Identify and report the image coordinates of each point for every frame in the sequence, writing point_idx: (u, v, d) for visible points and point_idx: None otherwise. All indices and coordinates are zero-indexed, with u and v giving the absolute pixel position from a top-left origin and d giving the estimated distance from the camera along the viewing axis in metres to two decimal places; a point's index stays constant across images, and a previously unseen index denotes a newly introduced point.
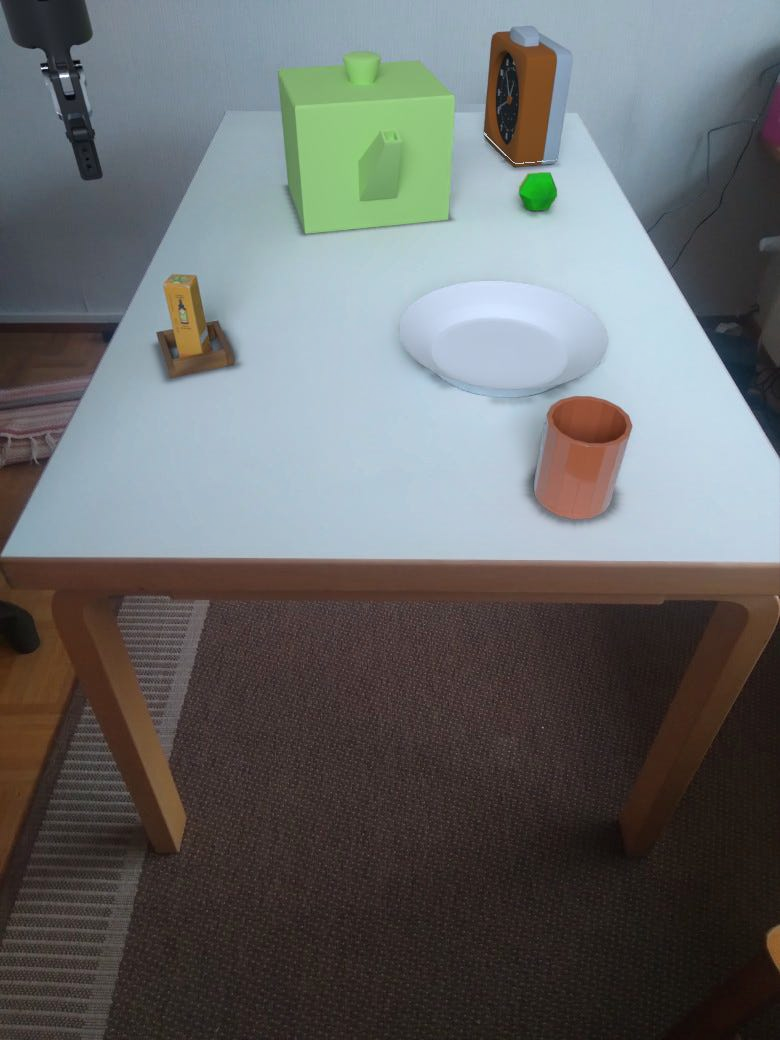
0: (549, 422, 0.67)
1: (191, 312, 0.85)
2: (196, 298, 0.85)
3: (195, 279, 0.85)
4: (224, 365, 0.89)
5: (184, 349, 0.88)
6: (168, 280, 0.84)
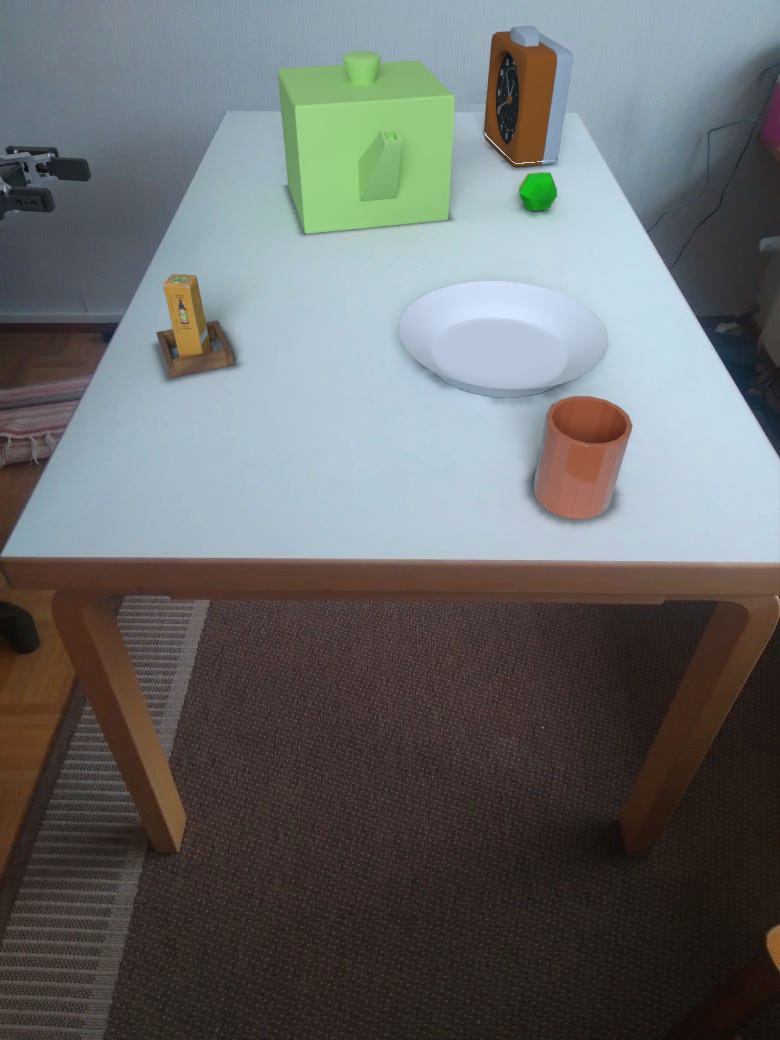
0: (549, 422, 0.67)
1: (191, 312, 0.85)
2: (196, 298, 0.85)
3: (195, 279, 0.85)
4: (224, 365, 0.89)
5: (184, 349, 0.88)
6: (168, 280, 0.84)
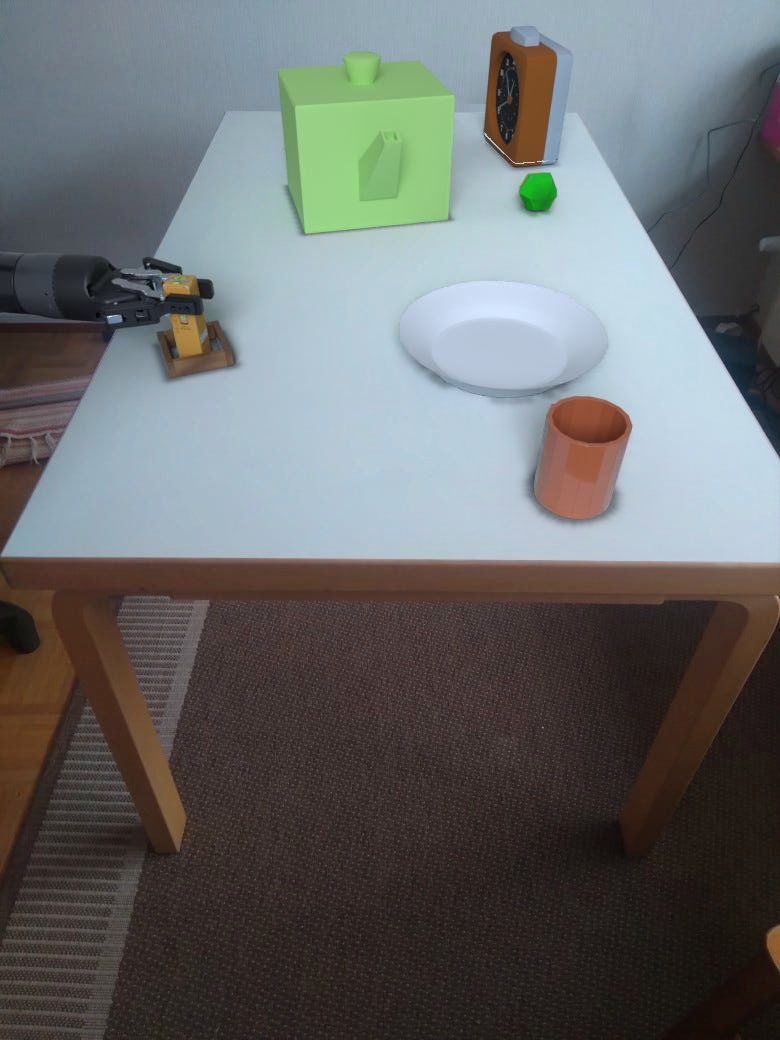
0: (549, 422, 0.67)
1: None
2: None
3: (194, 279, 0.84)
4: (224, 365, 0.89)
5: (184, 349, 0.88)
6: (167, 281, 0.84)
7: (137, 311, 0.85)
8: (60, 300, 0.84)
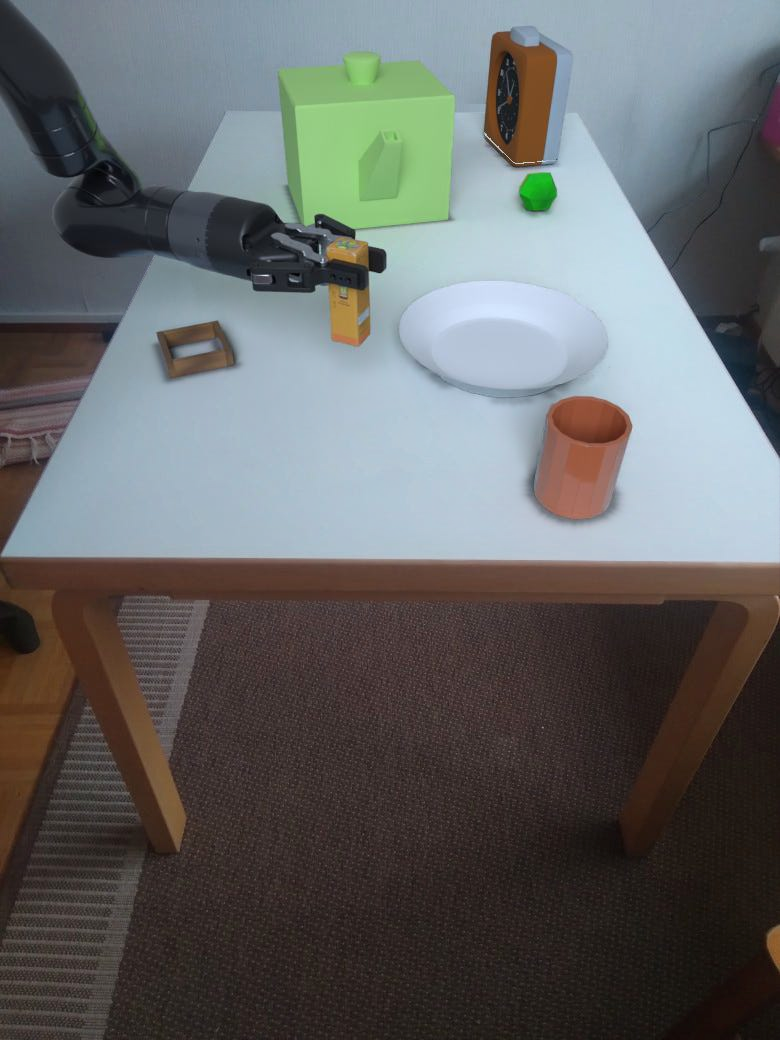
0: (549, 422, 0.67)
1: None
2: None
3: (365, 247, 0.69)
4: (224, 365, 0.89)
5: (338, 328, 0.74)
6: (333, 243, 0.69)
7: (293, 274, 0.71)
8: (211, 249, 0.72)
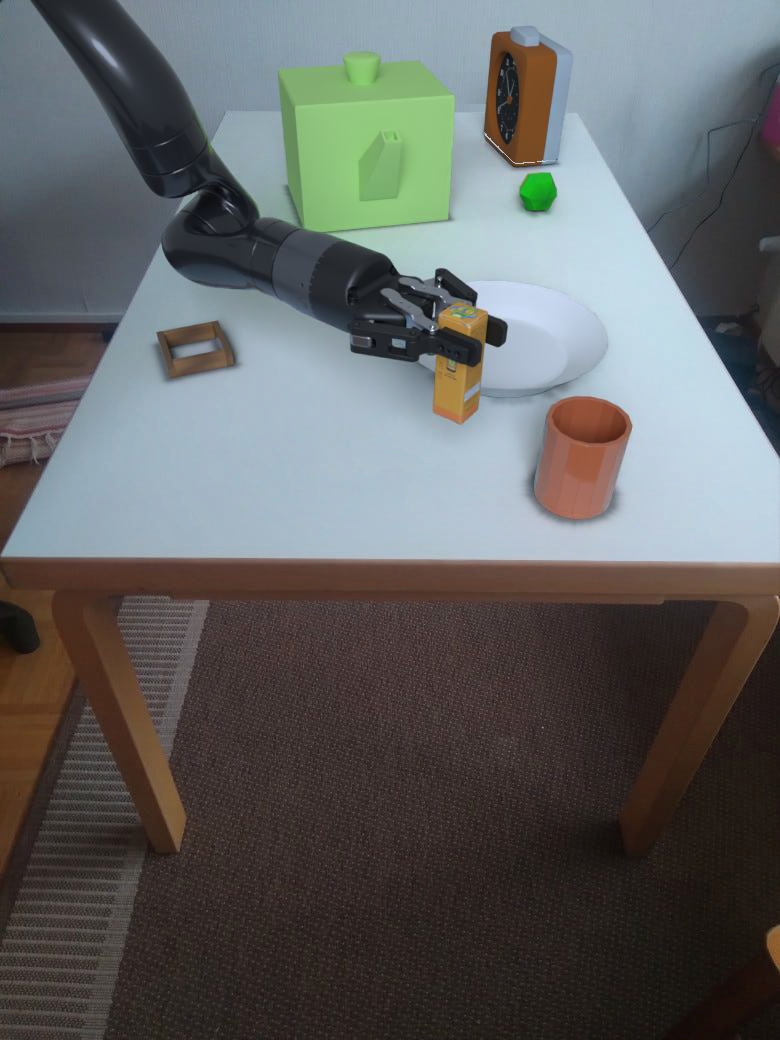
0: (549, 422, 0.67)
1: None
2: None
3: (484, 317, 0.60)
4: (224, 365, 0.89)
5: (441, 401, 0.65)
6: (448, 309, 0.60)
7: None
8: (314, 297, 0.65)
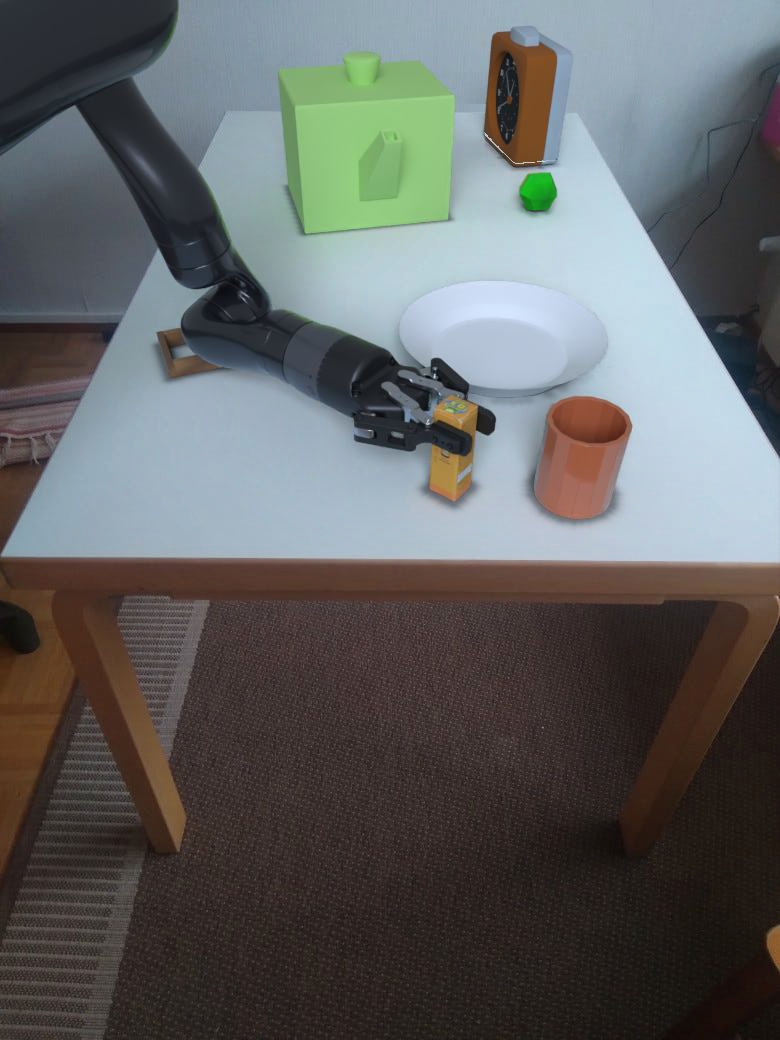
0: (549, 422, 0.67)
1: None
2: None
3: (474, 411, 0.67)
4: None
5: (436, 480, 0.72)
6: (442, 404, 0.67)
7: None
8: (322, 387, 0.71)
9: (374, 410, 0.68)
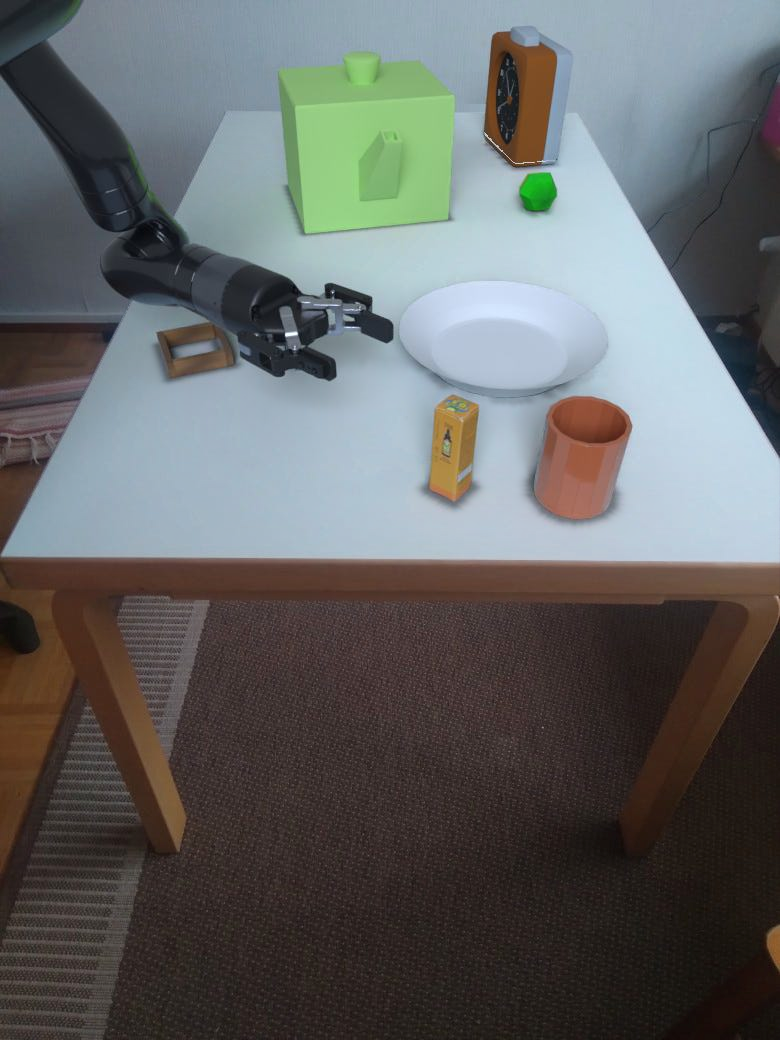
0: (549, 422, 0.67)
1: (457, 447, 0.67)
2: (469, 432, 0.67)
3: (475, 410, 0.67)
4: (224, 365, 0.89)
5: (437, 480, 0.72)
6: (443, 403, 0.67)
7: None
8: (225, 314, 0.74)
9: (271, 332, 0.71)
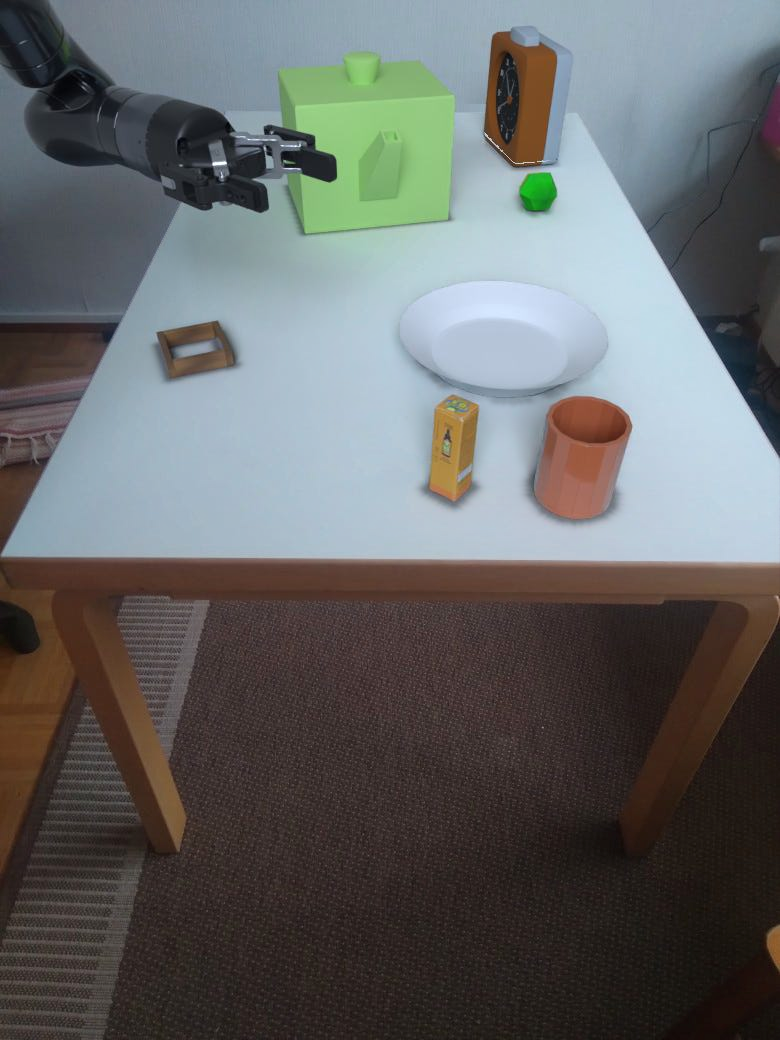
0: (549, 422, 0.67)
1: (457, 447, 0.67)
2: (469, 432, 0.67)
3: (475, 410, 0.67)
4: (224, 365, 0.89)
5: (437, 480, 0.72)
6: (443, 403, 0.67)
7: None
8: (151, 153, 0.67)
9: (199, 166, 0.63)
